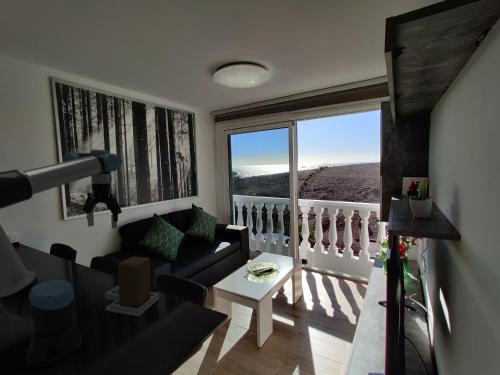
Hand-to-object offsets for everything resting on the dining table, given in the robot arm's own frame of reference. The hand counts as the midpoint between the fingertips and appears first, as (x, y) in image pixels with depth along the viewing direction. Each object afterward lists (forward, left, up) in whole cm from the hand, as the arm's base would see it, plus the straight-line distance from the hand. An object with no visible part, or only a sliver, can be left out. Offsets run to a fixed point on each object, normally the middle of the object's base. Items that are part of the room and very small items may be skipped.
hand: (102, 227), depth 120 cm
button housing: (+2, -6, -35) cm, 35 cm away
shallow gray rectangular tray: (-2, -18, -35) cm, 39 cm away
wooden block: (-2, -19, -34) cm, 39 cm away
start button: (+2, -6, -34) cm, 34 cm away
